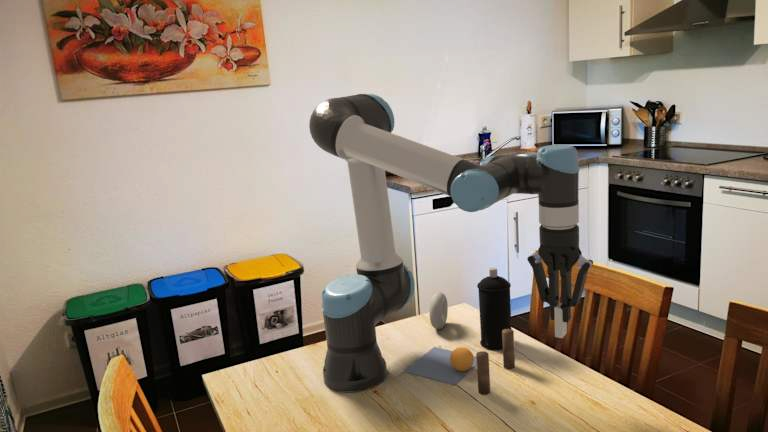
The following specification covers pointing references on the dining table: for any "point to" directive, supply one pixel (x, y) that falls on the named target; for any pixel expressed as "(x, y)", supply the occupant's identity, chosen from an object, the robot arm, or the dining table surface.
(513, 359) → the post
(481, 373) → the post
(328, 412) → the dining table surface
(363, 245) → the robot arm
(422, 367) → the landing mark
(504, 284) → the aerosol can
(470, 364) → the ball
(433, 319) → the donut
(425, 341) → the dining table surface
